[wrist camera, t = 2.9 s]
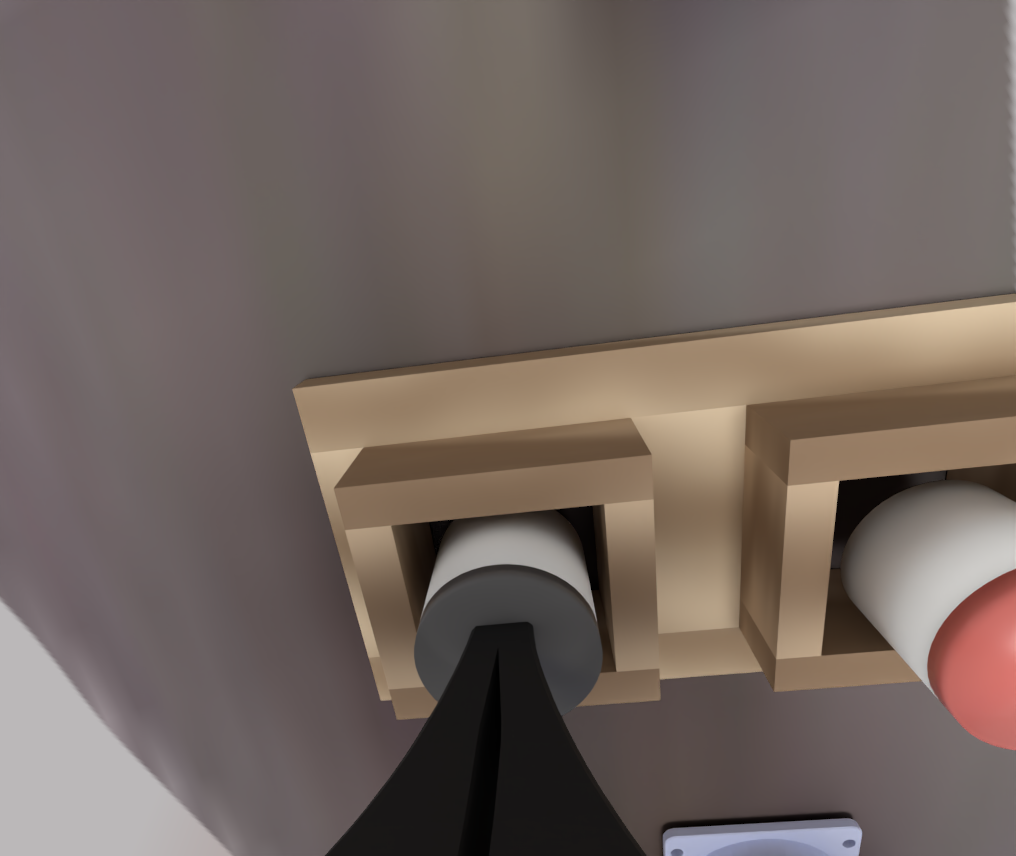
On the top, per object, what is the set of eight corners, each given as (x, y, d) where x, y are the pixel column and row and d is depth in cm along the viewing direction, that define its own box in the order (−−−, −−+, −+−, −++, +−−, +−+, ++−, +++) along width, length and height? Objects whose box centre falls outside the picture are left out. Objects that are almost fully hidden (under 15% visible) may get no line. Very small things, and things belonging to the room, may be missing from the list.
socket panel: (1000, 629, 18) (1108, 719, 15) (387, 678, 20) (360, 770, 17) (1087, 284, 14) (1262, 302, 11) (306, 379, 16) (247, 420, 12)
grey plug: (589, 614, 16) (608, 721, 13) (451, 626, 17) (432, 733, 13) (578, 489, 15) (595, 572, 11) (426, 505, 15) (396, 590, 12)
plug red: (1000, 615, 14) (1157, 743, 11) (833, 629, 15) (933, 758, 11) (1036, 470, 13) (1233, 564, 9) (849, 489, 13) (970, 586, 10)
